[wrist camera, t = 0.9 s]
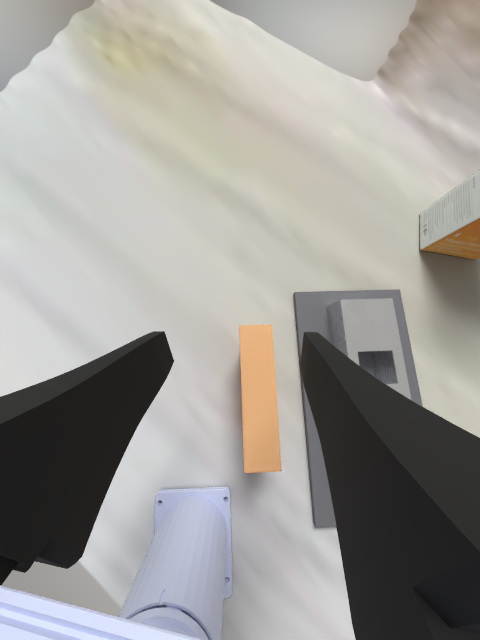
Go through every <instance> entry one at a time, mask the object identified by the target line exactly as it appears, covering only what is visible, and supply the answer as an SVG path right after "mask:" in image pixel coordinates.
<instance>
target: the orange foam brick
mask: <svg viewBox="0 0 480 640" xmlns="http://www.w3.org/2000/svg"><path fill="white" fill-rule="evenodd" d="M239 333H240V363H241V394H242V425H243V455H244V472H245V473H256V472H276V471H281V455H280V440H279V424H278V409H277V393H276V378H275V362H274V347H273V331H272V325H244V326H240V327H239Z"/></svg>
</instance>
